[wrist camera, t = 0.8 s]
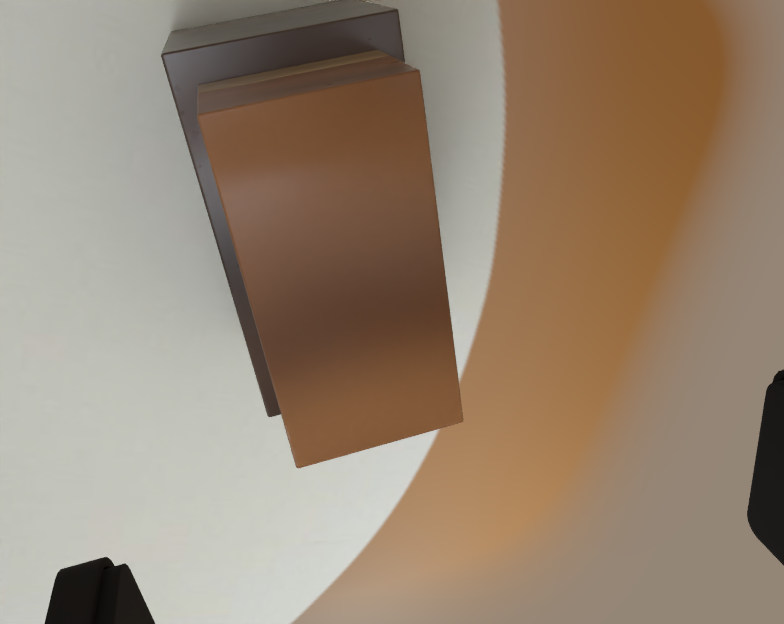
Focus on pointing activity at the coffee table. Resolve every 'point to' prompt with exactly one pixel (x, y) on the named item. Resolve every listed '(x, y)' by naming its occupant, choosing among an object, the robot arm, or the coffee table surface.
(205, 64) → the stand
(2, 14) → the coffee table surface
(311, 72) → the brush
